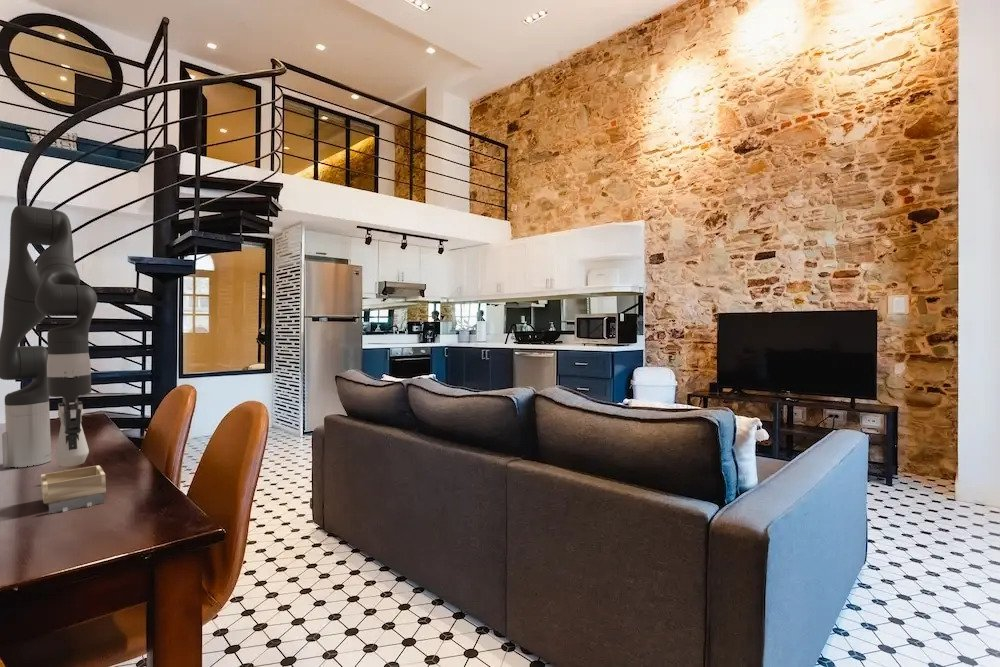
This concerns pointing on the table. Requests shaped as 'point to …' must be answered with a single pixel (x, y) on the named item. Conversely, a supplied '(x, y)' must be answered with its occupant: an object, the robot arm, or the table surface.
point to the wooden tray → (72, 484)
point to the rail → (76, 503)
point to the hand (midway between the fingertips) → (71, 449)
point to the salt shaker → (75, 455)
